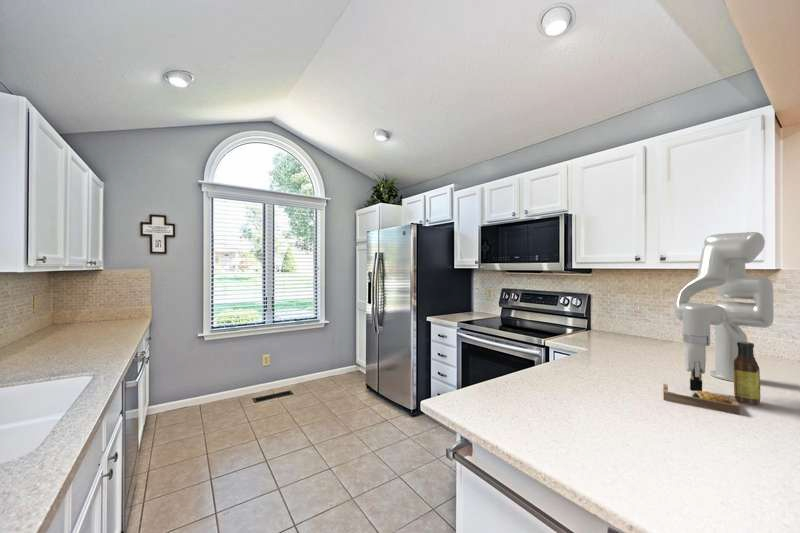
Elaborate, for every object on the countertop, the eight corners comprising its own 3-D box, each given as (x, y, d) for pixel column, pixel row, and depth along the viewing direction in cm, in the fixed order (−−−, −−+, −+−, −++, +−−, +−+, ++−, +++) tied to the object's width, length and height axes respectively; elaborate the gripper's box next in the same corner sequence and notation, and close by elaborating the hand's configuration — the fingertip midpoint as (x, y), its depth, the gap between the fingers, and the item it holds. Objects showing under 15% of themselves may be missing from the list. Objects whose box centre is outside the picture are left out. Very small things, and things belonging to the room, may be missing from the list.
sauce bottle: (766, 406, 110) (766, 345, 110) (743, 404, 111) (743, 344, 112) (749, 398, 117) (749, 341, 117) (728, 397, 118) (728, 340, 118)
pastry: (720, 401, 115) (720, 390, 115) (735, 409, 108) (735, 397, 108) (688, 398, 117) (688, 387, 117) (701, 406, 110) (701, 394, 110)
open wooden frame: (663, 390, 123) (663, 383, 123) (733, 403, 112) (733, 396, 112) (663, 399, 114) (663, 392, 115) (739, 414, 103) (739, 406, 103)
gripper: (681, 335, 130) (681, 383, 130) (683, 341, 118) (683, 394, 118) (707, 337, 125) (707, 387, 125) (712, 344, 113) (712, 399, 113)
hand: (696, 390), depth 122 cm, fingers closed
